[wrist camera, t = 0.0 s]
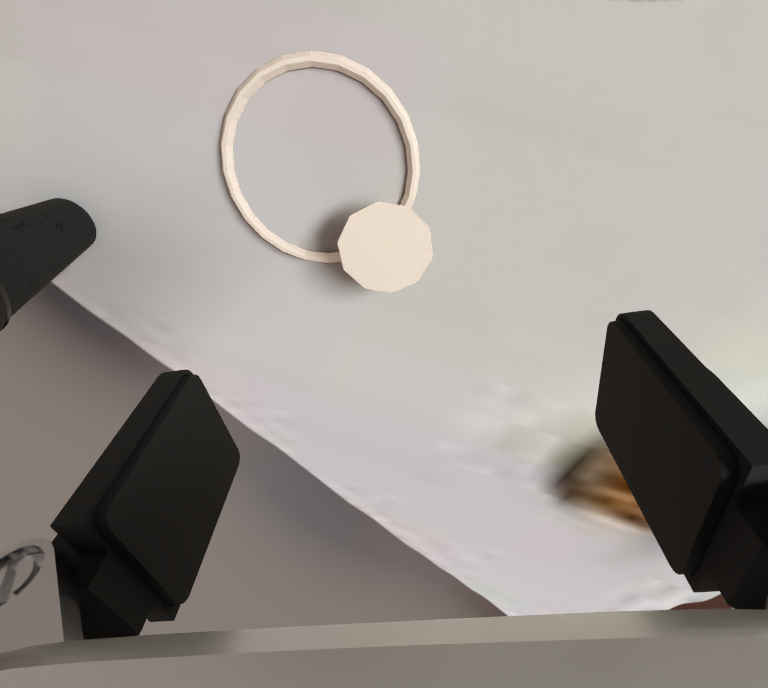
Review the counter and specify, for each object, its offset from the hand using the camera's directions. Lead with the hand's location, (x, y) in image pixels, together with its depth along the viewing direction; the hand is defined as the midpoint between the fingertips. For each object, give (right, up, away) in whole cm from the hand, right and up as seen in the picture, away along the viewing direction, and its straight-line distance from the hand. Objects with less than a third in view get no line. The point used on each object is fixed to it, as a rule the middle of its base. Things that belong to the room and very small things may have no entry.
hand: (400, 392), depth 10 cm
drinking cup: (-30, +13, +31) cm, 45 cm away
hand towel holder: (-5, +15, +28) cm, 32 cm away
